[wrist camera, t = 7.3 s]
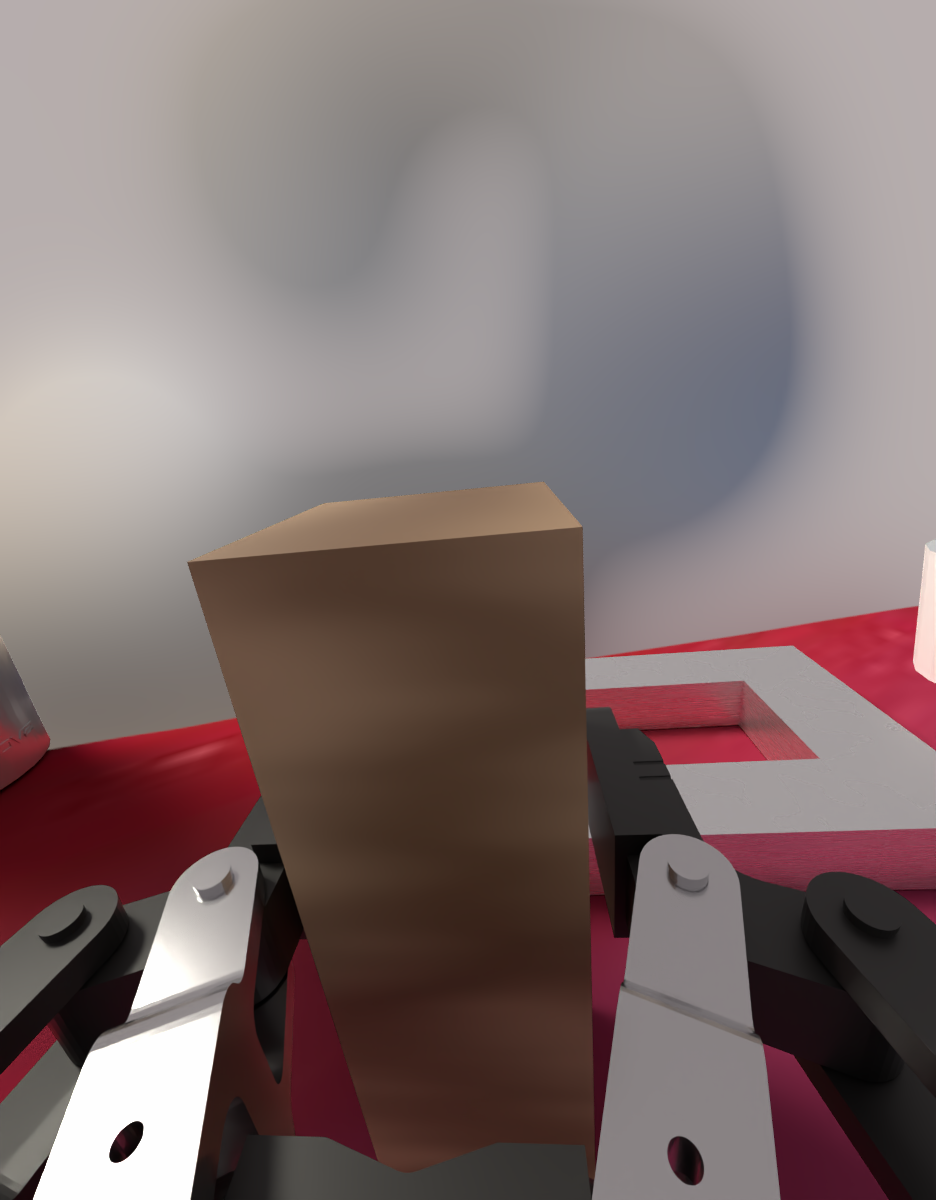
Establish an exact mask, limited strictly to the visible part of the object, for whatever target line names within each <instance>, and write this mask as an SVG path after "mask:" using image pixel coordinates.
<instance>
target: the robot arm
mask: <svg viewBox="0 0 936 1200" xmlns="http://www.w3.org/2000/svg"><path fill="white" fill-rule="evenodd" d="M586 728H587V779H588V825H589V829H590V833H591V838H592V842H593V847H594V851H595V855H596V860H597V864H598V868H599V873H600V877H601V881H602V886H603V890H604V895H605V899H606V903H607V908H608V912H609V916H610V921H611V925H612V930H613V934H614V938H630V939H629V947H628V955H627V963H626V970H625V977H624V982H622V983H621V987H620V992H619V998H618V1005H617V1012H616V1020H615V1027H614V1035H613V1043H612V1050H611V1058H610V1065H609V1073H608V1081H607V1088H606V1096H605V1103H604V1111H603V1119H602V1126H601V1134H600V1142H599V1149H598V1157H597V1164H596V1172H595V1180H593V1179H591V1178H589V1176H588V1168H587V1159H586V1151H585V1145H563V1144H531V1143H499V1142H498V1143H495V1144H492V1145H489V1146H486V1147H483V1148H481V1149H478V1150H475V1151H472V1152H469V1153H467V1154H464V1155H461V1156H458V1157H455V1158H452V1159H450V1160H447V1161H444V1162H441V1163H438V1164H436V1165H433V1166H430V1167H427V1168H424V1169H421V1170H419V1171H416V1172H411V1173H403V1172H400V1171H397V1170H395V1169H393V1168H391V1167H388V1166H386V1165H384V1164H382V1163H380V1162H378V1161H376V1160H374V1159H372V1158H369V1157H367V1156H365V1155H363V1154H361V1153H359V1152H357V1151H355V1150H352V1149H350V1148H348V1147H346V1146H344V1145H342V1144H340V1143H338V1142H336V1141H333V1140H331V1139H329V1138H327V1137H305V1136H295V1129H294V1123H293V1117H292V1108H291V1068H292V1041H293V1014H294V986H295V968H294V964H293V961H292V957H293V954H294V952H295V949H296V947H297V944H298V942H299V939H307V937H306V934H305V931H304V927H303V924H302V921H301V918H300V915H299V912H298V909H297V905H296V902H295V899H294V896H293V893H292V890H291V887H290V883H289V880H288V877H287V874H286V871H285V868H284V865H283V861H282V858H281V855H280V852H279V849H278V846H277V843H276V839H275V836H274V833H273V830H272V827H271V824H270V821H269V817H268V814H267V811H266V808H265V805H264V802H263V799H262V795H261V797H260V798H259V800H258V801H257V803H256V804H255V806H254V808H253V809H252V811H251V812H250V814H249V815H248V817H247V818H246V820H245V821H244V823H243V825H242V826H241V828H240V829H239V831H238V832H237V834H236V835H235V837H234V839H233V840H232V842H231V843H230V845H229V846H228V848H224V849H221V850H218V851H215V852H213V853H211V854H209V855H207V856H205V857H203V858H202V859H200V860H198V861H197V862H196V863H194V864H193V865H192V866H191V867H189V868H188V869H187V870H186V871H185V872H184V873H183V874H182V875H181V876H180V877H179V879H178V880H177V881H176V882H175V884H174V886H173V887H172V889H171V891H168V892H165V893H162V894H159V895H155V896H152V897H149V898H145V899H142V900H139V901H135V902H132V903H129V904H126V905H122V903H121V901H120V899H119V897H118V895H117V893H116V891H115V890H114V889H113V888H112V887H110V886H106V885H95V886H90V887H86V888H83V889H80V890H77V891H75V892H72V893H70V894H68V895H66V896H64V897H62V898H61V899H59V900H57V901H56V902H54V903H52V904H51V905H49V906H48V907H47V908H45V909H44V910H43V911H41V912H40V913H39V914H38V915H36V916H35V917H34V918H33V919H32V920H30V921H29V922H28V923H27V924H26V925H25V926H24V927H22V928H21V929H20V930H19V931H18V932H17V933H15V934H14V935H13V936H12V937H11V938H10V939H9V940H7V941H6V942H5V943H4V944H3V945H2V946H0V1075H1V1073H2V1072H3V1071H4V1070H5V1069H6V1068H7V1067H8V1066H9V1065H10V1064H11V1063H12V1062H13V1061H14V1059H15V1058H16V1057H17V1056H18V1055H19V1054H20V1053H21V1052H22V1051H23V1050H24V1049H25V1048H26V1047H27V1045H28V1044H29V1043H30V1042H31V1041H32V1040H33V1039H34V1038H35V1037H36V1036H37V1035H38V1034H39V1033H40V1032H41V1030H42V1029H43V1028H44V1027H45V1026H46V1025H48V1027H49V1028H50V1030H51V1031H52V1033H53V1034H54V1036H55V1038H56V1039H57V1041H56V1042H55V1043H54V1044H53V1045H52V1046H51V1048H50V1049H49V1050H48V1051H47V1052H46V1053H45V1054H44V1055H43V1057H42V1058H41V1059H40V1060H39V1061H38V1062H37V1063H36V1064H35V1066H34V1067H33V1068H32V1069H31V1070H30V1071H29V1072H28V1073H27V1074H26V1076H25V1077H24V1078H23V1079H22V1080H21V1081H20V1082H19V1083H18V1085H17V1086H16V1087H15V1088H14V1089H13V1090H12V1091H11V1092H10V1094H9V1095H8V1096H7V1097H6V1098H5V1099H4V1100H3V1101H2V1103H1V1104H0V1200H780V1191H779V1181H778V1172H777V1162H776V1153H775V1144H774V1134H773V1125H772V1116H771V1106H770V1097H769V1087H768V1078H767V1069H766V1061H765V1055H764V1049H763V1045H762V1043H763V1044H766V1045H769V1046H771V1047H774V1048H777V1049H779V1050H782V1051H785V1052H787V1053H790V1054H793V1055H794V1056H795V1058H796V1059H797V1061H798V1062H799V1064H800V1065H801V1067H802V1068H803V1070H804V1071H805V1073H806V1074H807V1076H808V1077H809V1079H810V1081H811V1082H812V1084H813V1085H814V1087H815V1088H816V1090H817V1091H818V1093H819V1094H820V1096H821V1097H822V1099H823V1100H824V1102H825V1103H826V1105H827V1106H828V1108H829V1109H830V1111H831V1112H832V1114H833V1115H834V1117H835V1118H836V1120H837V1121H838V1123H839V1124H840V1126H841V1127H842V1129H843V1130H844V1132H845V1134H846V1135H847V1137H848V1138H849V1140H850V1141H851V1143H852V1144H853V1146H854V1147H855V1149H856V1150H857V1152H858V1153H859V1155H860V1156H861V1158H862V1159H863V1161H864V1162H865V1164H866V1165H867V1167H868V1168H869V1170H870V1171H871V1173H872V1174H873V1176H874V1177H875V1179H876V1180H877V1182H878V1183H879V1185H880V1187H881V1188H882V1190H883V1191H884V1193H885V1194H886V1196H887V1197H888V1199H889V1200H936V924H934V923H933V922H932V921H931V920H930V919H929V918H928V917H927V916H925V915H924V914H923V913H922V912H921V911H920V910H919V909H917V908H916V907H915V906H914V905H913V904H912V903H910V902H909V901H908V900H907V899H905V898H904V897H902V896H901V895H900V894H898V893H897V892H895V891H893V890H892V889H890V888H888V887H886V886H885V885H883V884H880V883H878V882H876V881H874V880H872V879H869V878H866V877H863V876H860V875H856V874H852V873H846V872H827V873H822V874H820V875H817V876H816V877H814V878H813V879H812V880H811V881H810V882H809V884H808V886H807V889H806V892H804V891H800V890H796V889H792V888H788V887H784V886H780V885H776V884H772V883H768V882H764V881H761V880H758V879H754V878H752V877H749V876H747V875H744V874H742V873H740V872H738V871H737V870H735V869H734V868H733V866H732V864H731V863H730V862H729V861H728V860H727V858H726V857H725V856H724V855H723V854H722V853H720V852H719V851H718V850H717V849H715V848H714V847H712V846H711V845H709V844H707V843H706V842H704V840H703V839H702V837H701V835H700V833H699V831H698V829H697V827H696V825H695V823H694V821H693V819H692V817H691V815H690V813H689V811H688V809H687V807H686V805H685V803H684V801H683V799H682V797H681V795H680V793H679V791H678V789H677V787H676V785H675V783H674V781H673V779H671V775H670V773H669V771H668V769H667V767H666V765H665V764H664V763H663V759H662V757H661V755H660V753H659V751H658V749H657V747H656V745H655V743H654V742H653V741H652V740H651V739H649V738H648V737H647V736H646V735H645V734H643V733H642V732H641V731H640V730H639V729H638V728H633V729H619V727H618V724H617V722H616V719H615V717H614V714H613V712H612V709H611V708H610V707H597V708H586ZM49 745H50V738H49V736H48V733H47V732H46V729H45V727H44V725H43V723H42V721H41V719H40V717H39V715H38V713H37V711H36V709H35V707H34V705H33V702H32V700H31V698H30V696H29V694H28V692H27V690H26V688H25V686H24V684H23V681H22V679H21V677H20V675H19V672H18V671H17V668H16V666H15V664H14V662H13V661H12V658H11V656H10V654H9V652H8V650H7V648H6V646H5V644H4V641H3V639H2V637H1V635H0V790H1V789H3V788H4V787H6V786H7V785H9V784H10V783H12V782H13V781H15V780H16V779H18V778H19V777H20V776H21V775H23V774H24V773H25V772H26V771H28V770H29V769H30V768H31V767H33V766H34V765H35V764H36V763H37V762H38V761H39V760H40V759H41V758H42V756H43V755H44V754H45V752H46V751H47V749H48V747H49Z"/></svg>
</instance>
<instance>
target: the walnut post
mask: <svg viewBox="0 0 936 1200" xmlns="http://www.w3.org/2000/svg"><path fill="white" fill-rule="evenodd" d="M188 566H189V569H190V572H191V576H192V579H193V582H194V585H195V588H196V591H197V594H198V598H199V601H200V603H201V607H202V610H203V613H204V616H205V620H206V623H207V626H208V629H209V632H210V635H211V638H212V642H213V644H214V648H215V651H216V654H217V657H218V660H219V663H220V667H221V669H222V673H223V676H224V679H225V682H226V685H227V688H228V692H229V695H230V698H231V701H232V704H233V707H234V711H235V713H236V717H237V720H238V723H239V726H240V729H241V733H242V736H243V739H244V742H245V745H246V748H247V751H248V755H249V758H250V761H251V764H252V767H253V770H254V773H255V777H256V780H257V783H258V786H259V789H260V792H261V795H262V799H263V802H264V805H265V808H266V811H267V814H268V817H269V821H270V824H271V827H272V830H273V833H274V836H275V839H276V843H277V846H278V849H279V852H280V855H281V858H282V861H283V865H284V868H285V871H286V874H287V877H288V880H289V883H290V887H291V890H292V893H293V896H294V899H295V902H296V905H297V909H298V912H299V915H300V918H301V921H302V924H303V927H304V931H305V934H306V937H307V940H308V943H309V946H310V949H311V953H312V956H313V959H314V962H315V965H316V968H317V971H318V975H319V978H320V981H321V984H322V987H323V990H324V993H325V996H326V1000H327V1003H328V1006H329V1009H330V1012H331V1015H332V1018H333V1022H334V1025H335V1028H336V1031H337V1034H338V1037H339V1040H340V1044H341V1047H342V1050H343V1053H344V1056H345V1059H346V1062H347V1066H348V1069H349V1072H350V1075H351V1078H352V1081H353V1084H354V1088H355V1091H356V1094H357V1097H358V1100H359V1103H360V1106H361V1110H362V1113H363V1116H364V1119H365V1122H366V1125H367V1128H368V1132H369V1135H370V1138H371V1141H372V1144H373V1147H374V1150H375V1154H376V1157H377V1160H378V1162H380V1163H382V1164H384V1165H386V1166H388V1167H391V1168H393V1169H395V1170H397V1171H400V1172H403V1173H411V1172H416V1171H419V1170H421V1169H424V1168H427V1167H430V1166H433V1165H436V1164H438V1163H441V1162H444V1161H447V1160H450V1159H452V1158H455V1157H458V1156H461V1155H464V1154H467V1153H469V1152H472V1151H475V1150H478V1149H481V1148H483V1147H486V1146H489V1145H492V1144H495V1143H498V1142H499V1143H531V1144H563V1145H585V1151H586V1159H587V1168H588V1176H589V1178H591V1179H593V1180H595V1133H594V1083H593V1032H592V981H591V931H590V880H589V829H588V779H587V728H586V677H585V631H584V630H585V627H584V580H583V579H584V578H583V577H584V576H583V528H582V526H581V525H580V524H579V522H578V521H577V520H576V519H575V518H574V516H573V515H572V514H571V513H570V512H569V511H568V510H567V508H566V507H565V506H564V505H563V504H562V502H561V501H560V500H559V499H558V498H557V497H556V496H555V495H554V493H553V492H552V491H551V490H550V489H549V487H548V486H547V485H546V484H545V483H544V482H536V483H527V484H516V485H506V486H496V487H485V488H475V489H465V490H455V491H445V492H436V493H424V494H414V495H404V496H394V497H384V498H375V499H364V500H353V501H343V502H333V503H324V504H321V505H319V506H316V507H314V508H312V509H310V510H307V511H305V512H303V513H300V514H298V515H296V516H294V517H291V518H289V519H286V520H284V521H282V522H279V523H277V524H275V525H272V526H270V527H268V528H265V529H263V530H261V531H258V532H256V533H254V534H251V535H249V536H247V537H245V538H242V539H240V540H237V541H235V542H233V543H230V544H228V545H226V546H223V547H221V548H219V549H216V550H214V551H212V552H209V553H207V554H205V555H202V556H200V557H198V558H195V559H193V560H191V561H189V562H188Z"/></svg>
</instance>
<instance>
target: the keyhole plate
mask: <svg viewBox="0 0 936 1200" xmlns="http://www.w3.org/2000/svg"><path fill="white" fill-rule="evenodd" d="M585 677H586V708H597V707H610V708H611V709H612V712H613V714H614V717H615V719H616V722H617V724H618V727H619V729H633V728H638V729H639V730H646V729H667V728H687V727H708V726H728V725H739V726H740V727H741V728H742V729H743V731H744V732H745V733H746V734H747V736H748V737H749V738H750V739H751V741H752V742H753V743H754V744H755V745H756V747H757V748H758V749H759V750H760V752H761V753H762V754H763V755H764V756H765V758H766V759H767V760H768V761H752V762H728V763H704V764H680V765H666V767H667V769H668V771H669V773H670V775H671V779H673V781H674V783H675V785H676V787H677V789H678V791H679V793H680V795H681V797H682V799H683V801H684V803H685V805H686V807H687V809H688V811H689V813H690V815H691V817H692V819H693V821H694V823H695V825H696V827H697V829H698V831H699V833H700V835H701V837H702V839H703V840H704V842H706V843H707V844H709V845H711V846H712V847H714V848H715V849H717V850H718V851H719V852H720V853H722V854H723V855H724V856H725V857H726V858H727V860H728V861H729V862H730V863H731V864H732V866H733V868H734V869H735V870H737V871H738V872H740V873H742V874H744V875H747V876H749V877H752V878H754V879H758V880H761V881H764V882H768V883H772V884H776V885H780V886H784V887H788V888H792V889H796V890H800V891H806V889H807V886H808V884H809V882H810V881H811V880H812V879H813V878H814V877H816V876H817V875H820V874H822V873H827V872H846V873H852V874H856V875H860V876H863V877H866V878H869V879H872V880H874V881H876V882H878V883H880V884H883V885H885V886H886V887H888V888H890V889H892V890H910V889H936V751H935V750H934V749H932V748H931V747H930V746H928V745H927V744H926V743H924V742H923V741H921V740H920V739H919V738H917V737H916V736H915V735H913V734H912V733H911V732H909V731H908V730H906V729H905V728H904V727H902V726H901V725H900V724H898V723H897V722H896V721H894V720H893V719H892V718H890V717H889V716H887V715H886V714H885V713H883V712H882V711H881V710H879V709H878V708H877V707H875V706H874V705H872V704H871V703H870V702H868V701H867V700H866V699H864V698H863V697H862V696H860V695H859V694H858V693H856V692H855V691H853V690H852V689H851V688H849V687H848V686H847V685H845V684H844V683H843V682H841V681H840V680H839V679H837V678H836V677H834V676H833V675H832V674H830V673H829V672H828V671H826V670H825V669H824V668H822V667H821V666H819V665H818V664H817V663H815V662H814V661H813V660H811V659H810V658H809V657H807V656H806V655H805V654H803V653H802V652H800V651H799V650H798V649H796V648H795V647H794V646H781V647H765V648H749V649H733V650H717V651H702V652H686V653H670V654H654V655H638V656H622V657H607V658H591V659H585ZM588 829H589V825H588ZM589 880H590V895H604V890H603V886H602V881H601V877H600V873H599V868H598V864H597V860H596V855H595V851H594V847H593V842H592V838H591V833H590V829H589Z"/></svg>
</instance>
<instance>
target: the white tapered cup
mask: <svg viewBox="0 0 936 1200" xmlns="http://www.w3.org/2000/svg"><path fill="white" fill-rule="evenodd" d="M913 663H914V666H915V670H916V671H917V672H919V673H920V674H921V675H923V676H924V677H925V678H927V679H928V680H930V681H932V682H934V683H936V539H934V540H932V541H930V542H929V543H927V544H926V546H925V555H924V565H923V573H922V583H921V592H920V601H919V610H918V620H917V629H916V638H915V648H914V657H913Z"/></svg>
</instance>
